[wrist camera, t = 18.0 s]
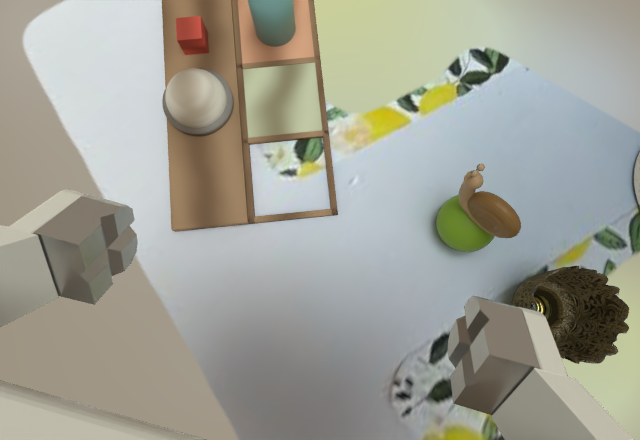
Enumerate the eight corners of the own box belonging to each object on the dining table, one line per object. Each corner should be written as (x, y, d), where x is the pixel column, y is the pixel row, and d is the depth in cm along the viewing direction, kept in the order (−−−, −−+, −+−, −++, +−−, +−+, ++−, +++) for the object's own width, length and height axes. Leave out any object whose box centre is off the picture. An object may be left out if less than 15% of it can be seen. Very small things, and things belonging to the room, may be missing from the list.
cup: (514, 254, 39) (564, 247, 31) (579, 297, 38) (647, 301, 30) (475, 317, 38) (516, 326, 30) (541, 362, 37) (601, 384, 29)
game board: (312, -4, 45) (311, -48, 39) (337, 216, 40) (339, 205, 35) (168, 9, 44) (145, -33, 38) (179, 232, 40) (154, 223, 34)
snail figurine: (447, 183, 40) (501, 141, 28) (494, 227, 39) (569, 203, 27) (411, 219, 39) (450, 192, 28) (458, 265, 39) (519, 257, 27)
